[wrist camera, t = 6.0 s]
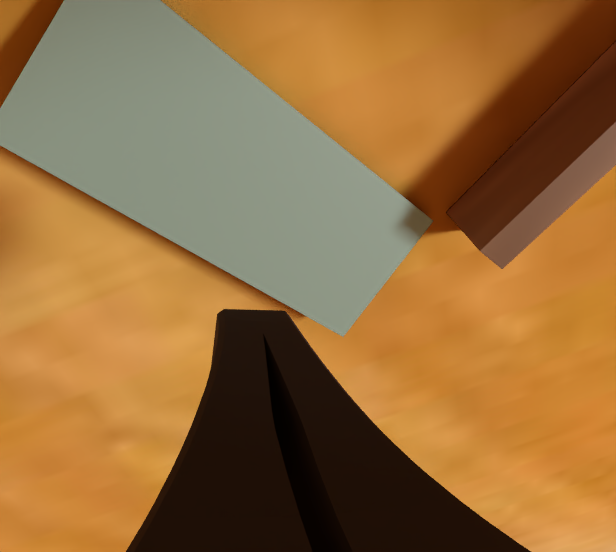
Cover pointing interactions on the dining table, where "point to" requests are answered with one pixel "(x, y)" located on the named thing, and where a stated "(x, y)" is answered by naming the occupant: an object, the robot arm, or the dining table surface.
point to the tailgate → (206, 157)
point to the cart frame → (544, 168)
